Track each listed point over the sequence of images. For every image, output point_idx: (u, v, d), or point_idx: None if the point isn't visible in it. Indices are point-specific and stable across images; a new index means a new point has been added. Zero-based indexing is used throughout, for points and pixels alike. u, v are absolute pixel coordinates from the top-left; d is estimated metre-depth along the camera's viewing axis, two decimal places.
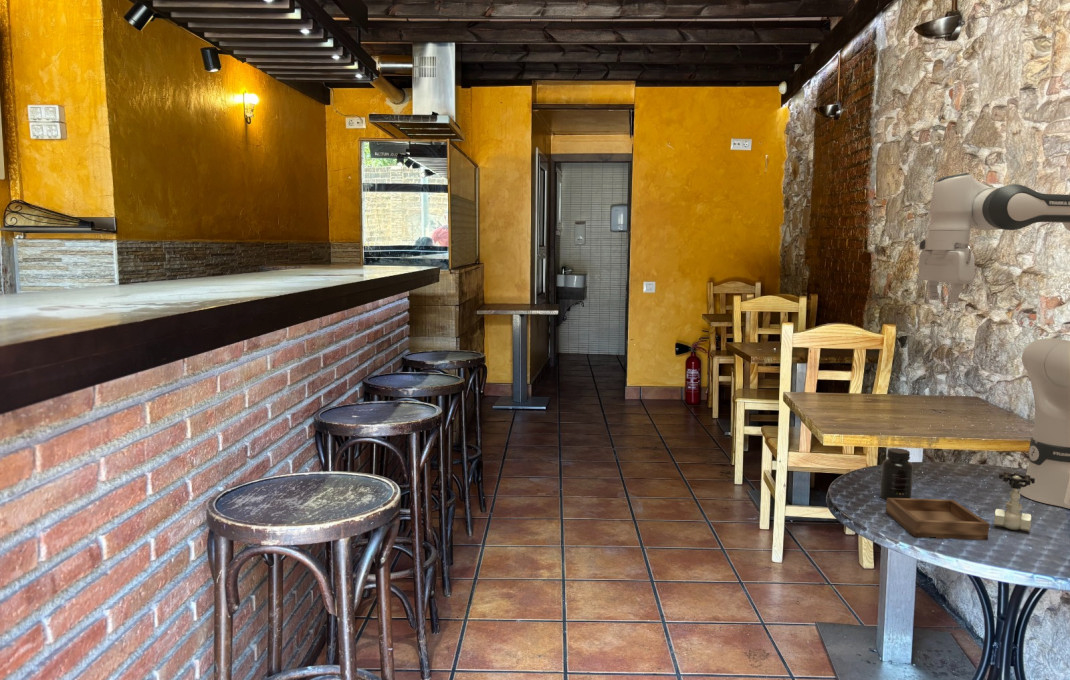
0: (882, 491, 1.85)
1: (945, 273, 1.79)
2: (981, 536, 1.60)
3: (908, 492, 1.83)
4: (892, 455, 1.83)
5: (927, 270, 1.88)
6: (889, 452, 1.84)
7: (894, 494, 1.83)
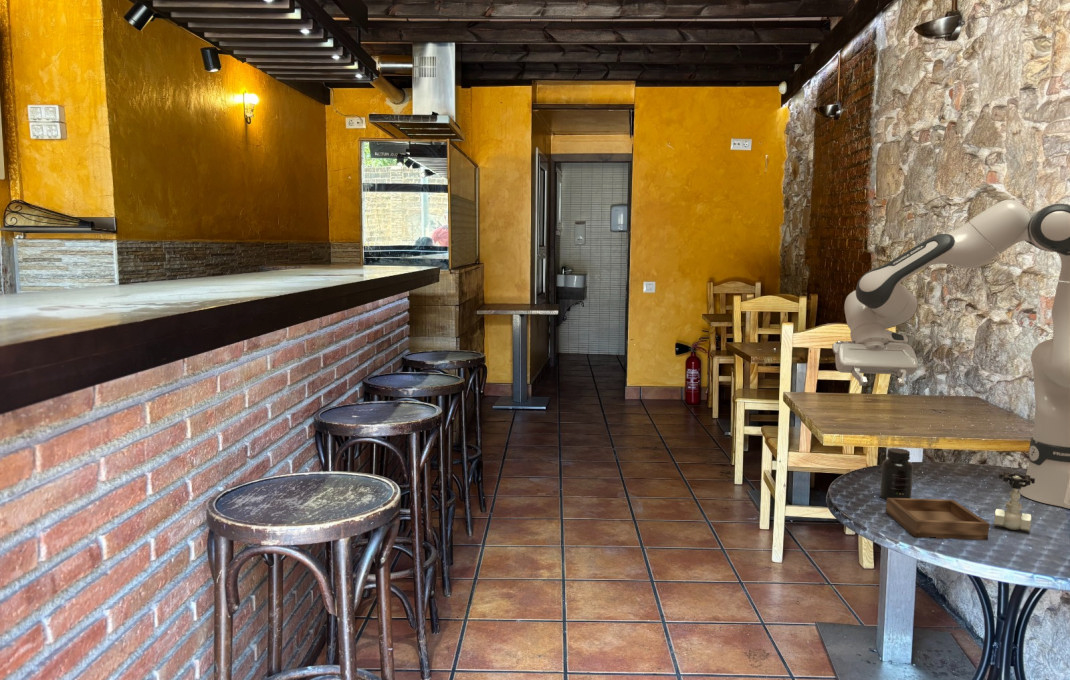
0: (882, 491, 1.85)
1: None
2: (981, 536, 1.60)
3: (909, 492, 1.83)
4: (892, 455, 1.83)
5: None
6: (889, 452, 1.84)
7: (894, 494, 1.83)
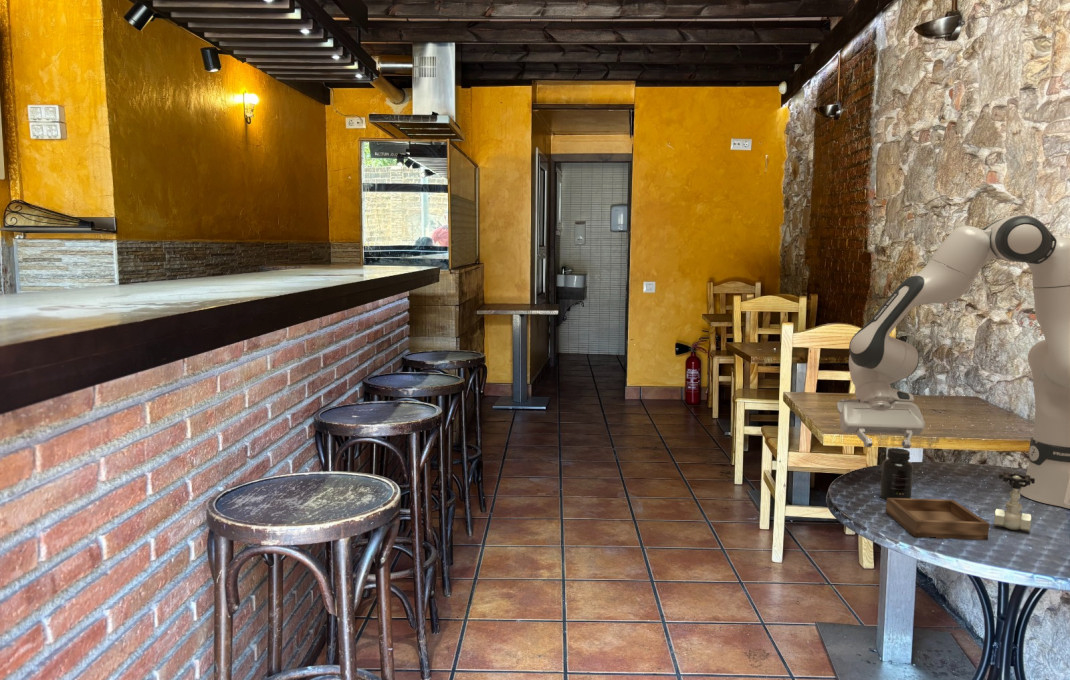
0: (882, 491, 1.85)
1: None
2: (981, 536, 1.60)
3: (909, 492, 1.83)
4: (892, 455, 1.83)
5: None
6: (889, 452, 1.84)
7: (894, 494, 1.83)
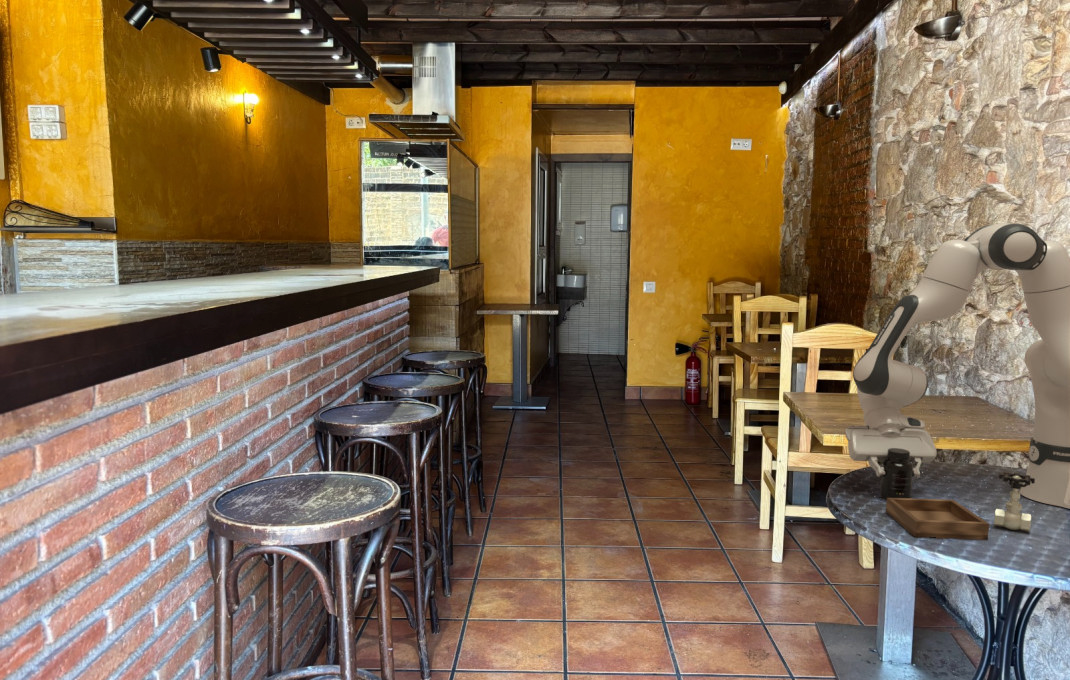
0: (882, 491, 1.85)
1: None
2: (981, 536, 1.60)
3: (909, 492, 1.83)
4: (892, 455, 1.83)
5: None
6: (889, 452, 1.84)
7: (894, 494, 1.83)
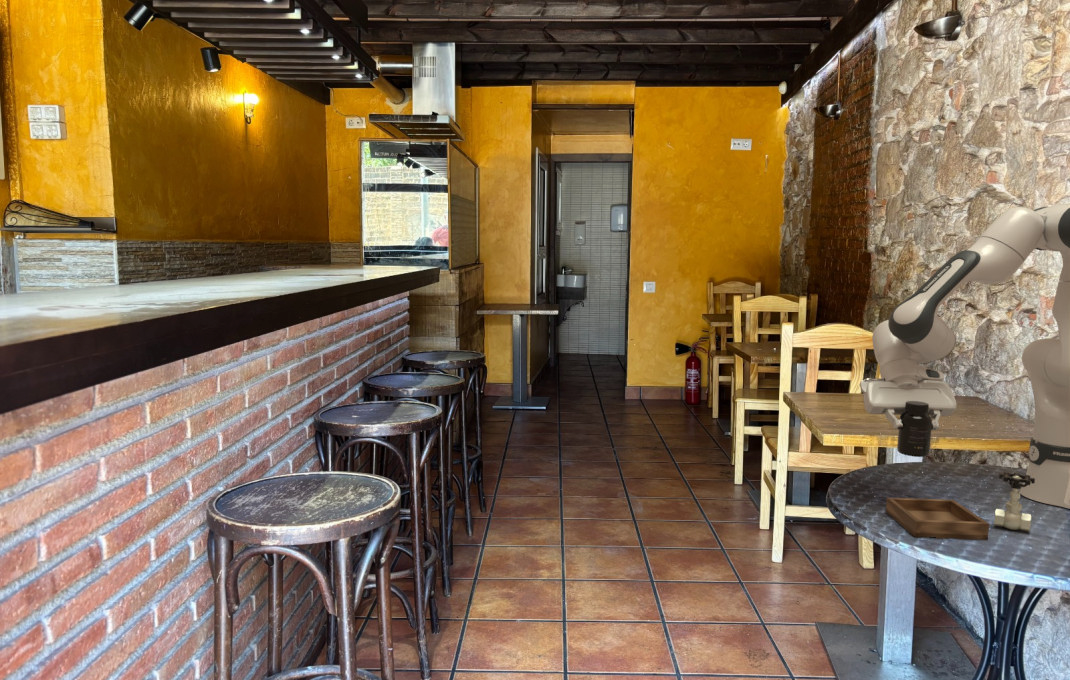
0: (899, 445, 1.77)
1: None
2: (981, 536, 1.60)
3: (927, 446, 1.74)
4: (910, 407, 1.75)
5: None
6: (907, 404, 1.76)
7: (912, 448, 1.74)
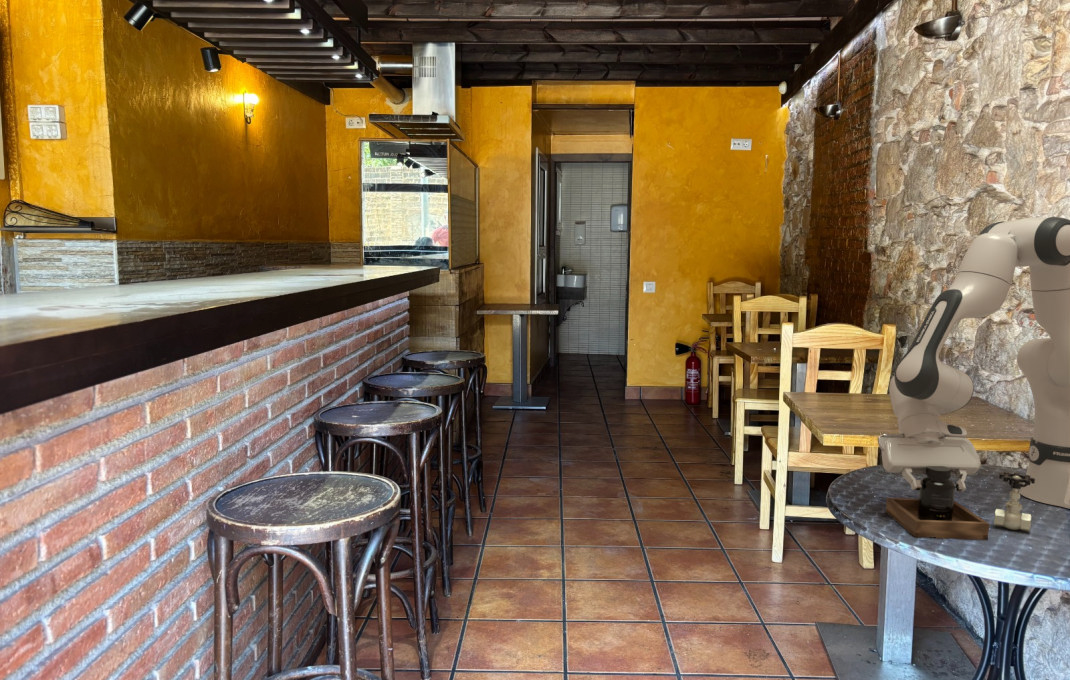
0: (920, 513, 1.68)
1: None
2: (981, 536, 1.60)
3: (950, 514, 1.65)
4: (931, 473, 1.65)
5: None
6: (928, 470, 1.66)
7: (934, 517, 1.65)
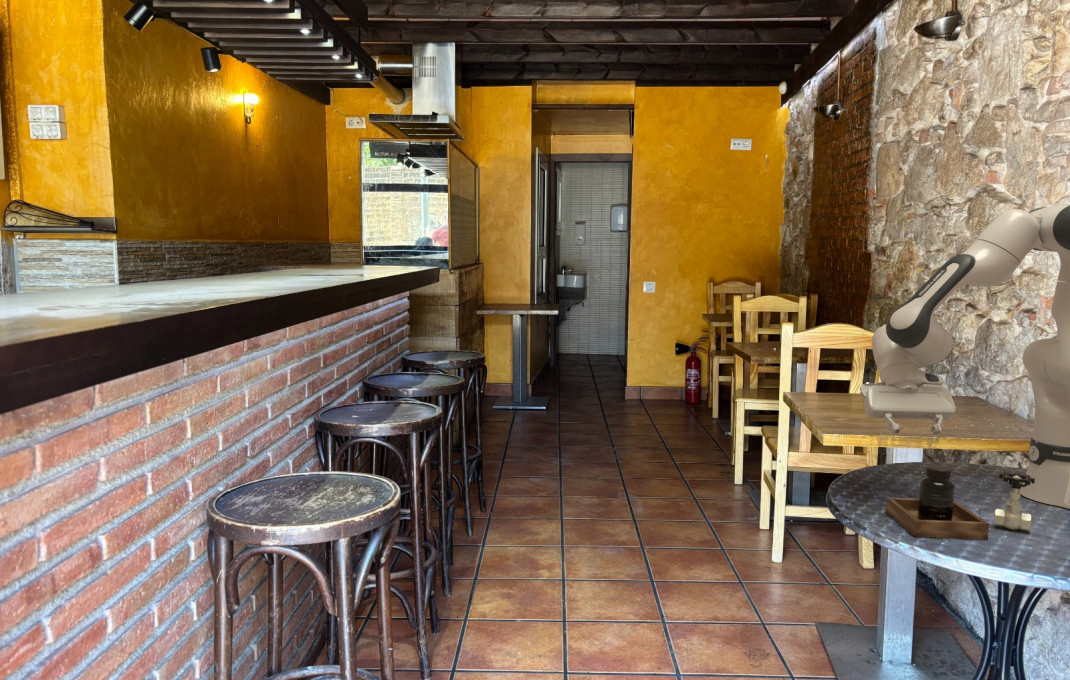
0: (920, 513, 1.68)
1: None
2: (981, 536, 1.60)
3: (950, 515, 1.65)
4: (932, 473, 1.65)
5: None
6: (928, 470, 1.66)
7: (934, 517, 1.65)
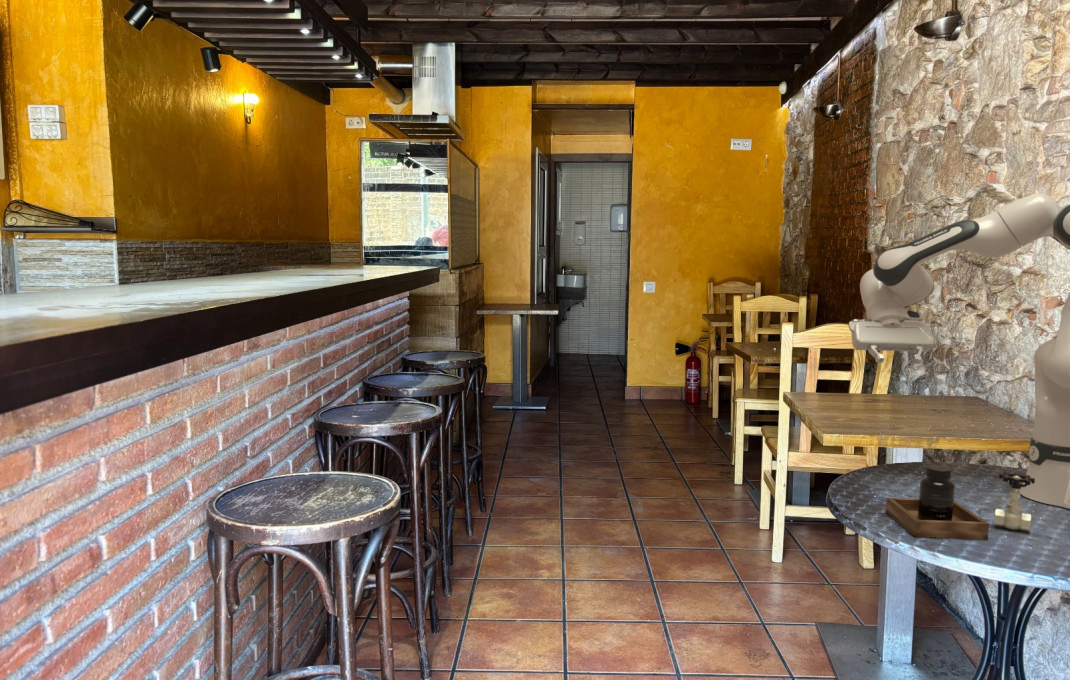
0: (920, 513, 1.68)
1: None
2: (981, 536, 1.60)
3: (950, 515, 1.65)
4: (932, 473, 1.65)
5: None
6: (928, 470, 1.66)
7: (934, 517, 1.65)
